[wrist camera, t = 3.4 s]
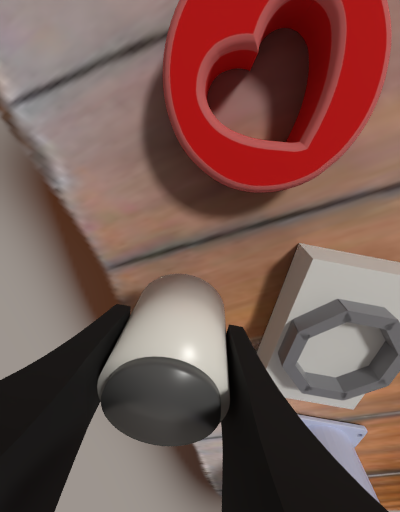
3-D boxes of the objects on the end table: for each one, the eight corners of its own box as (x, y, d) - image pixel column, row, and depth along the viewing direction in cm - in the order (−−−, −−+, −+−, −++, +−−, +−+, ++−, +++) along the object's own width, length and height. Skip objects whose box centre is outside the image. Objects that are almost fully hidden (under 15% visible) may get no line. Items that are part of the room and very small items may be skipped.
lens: (214, 350, 13) (214, 459, 8) (135, 336, 13) (92, 439, 8) (233, 283, 11) (247, 375, 7) (141, 266, 11) (90, 347, 6)
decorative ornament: (270, 214, 16) (282, 229, 13) (142, 123, 14) (124, 116, 11) (395, 61, 12) (452, 33, 9) (244, -90, 10) (257, -184, 7)
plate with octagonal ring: (338, 381, 21) (362, 425, 18) (251, 366, 21) (258, 407, 18) (412, 264, 16) (464, 294, 13) (298, 243, 16) (321, 268, 13)
